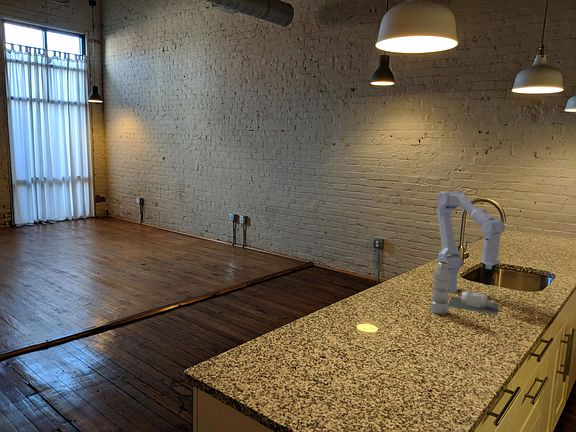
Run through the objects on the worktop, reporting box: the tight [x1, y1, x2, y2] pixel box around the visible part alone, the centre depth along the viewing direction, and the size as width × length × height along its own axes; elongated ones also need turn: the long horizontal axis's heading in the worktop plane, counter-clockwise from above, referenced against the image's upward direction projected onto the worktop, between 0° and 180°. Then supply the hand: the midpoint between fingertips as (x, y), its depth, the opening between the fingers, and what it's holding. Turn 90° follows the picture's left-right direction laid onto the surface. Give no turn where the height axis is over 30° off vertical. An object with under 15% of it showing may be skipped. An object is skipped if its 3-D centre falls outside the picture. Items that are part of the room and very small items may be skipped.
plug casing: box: [460, 290, 494, 308], centre depth 178 cm, size 12×4×4 cm, turn 63°
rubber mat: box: [448, 295, 499, 316], centre depth 179 cm, size 18×14×1 cm
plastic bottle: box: [429, 262, 452, 315], centre depth 168 cm, size 6×7×20 cm
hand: (487, 282), depth 180 cm, fingers open, 7 cm apart
